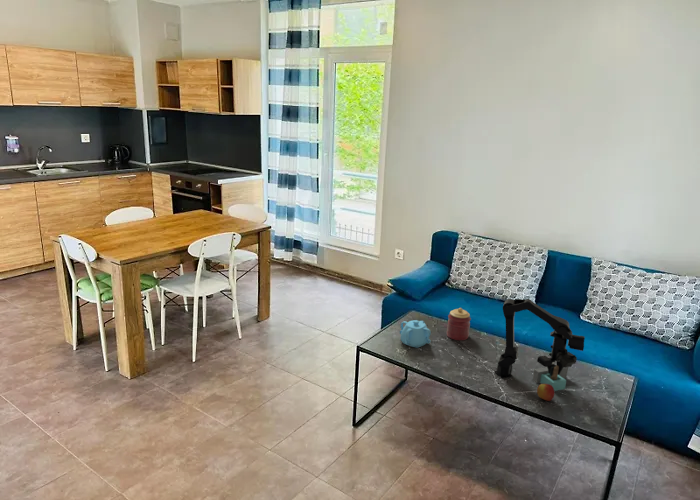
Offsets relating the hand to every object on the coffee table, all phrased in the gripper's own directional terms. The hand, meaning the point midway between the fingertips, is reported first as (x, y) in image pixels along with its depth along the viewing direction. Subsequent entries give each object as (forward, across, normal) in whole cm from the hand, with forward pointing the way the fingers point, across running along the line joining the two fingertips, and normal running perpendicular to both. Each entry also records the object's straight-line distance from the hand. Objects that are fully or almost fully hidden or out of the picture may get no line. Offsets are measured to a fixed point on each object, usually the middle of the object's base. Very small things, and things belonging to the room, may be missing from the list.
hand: (554, 374), depth 238 cm
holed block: (+6, 0, 0) cm, 6 cm away
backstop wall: (+6, +3, +6) cm, 9 cm away
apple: (+6, -12, -9) cm, 16 cm away
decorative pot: (+6, -46, +59) cm, 75 cm away
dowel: (+5, 0, 0) cm, 5 cm away
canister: (+6, -17, +61) cm, 63 cm away
